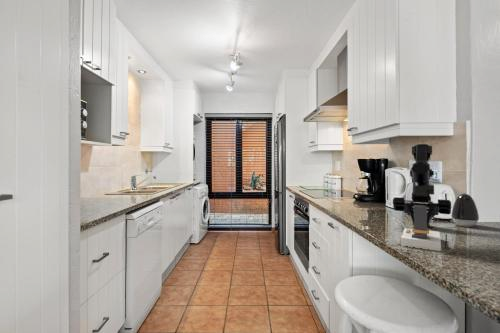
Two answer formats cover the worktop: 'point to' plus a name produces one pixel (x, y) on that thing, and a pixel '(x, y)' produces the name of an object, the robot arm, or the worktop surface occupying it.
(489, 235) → the worktop surface
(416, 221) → the plug
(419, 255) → the worktop surface
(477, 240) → the worktop surface
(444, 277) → the worktop surface
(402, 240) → the socket block
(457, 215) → the black egg-shaped dome
